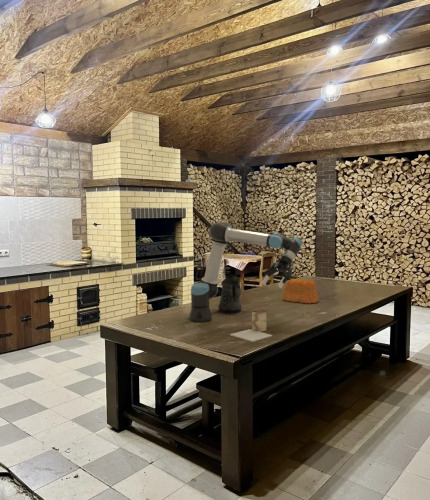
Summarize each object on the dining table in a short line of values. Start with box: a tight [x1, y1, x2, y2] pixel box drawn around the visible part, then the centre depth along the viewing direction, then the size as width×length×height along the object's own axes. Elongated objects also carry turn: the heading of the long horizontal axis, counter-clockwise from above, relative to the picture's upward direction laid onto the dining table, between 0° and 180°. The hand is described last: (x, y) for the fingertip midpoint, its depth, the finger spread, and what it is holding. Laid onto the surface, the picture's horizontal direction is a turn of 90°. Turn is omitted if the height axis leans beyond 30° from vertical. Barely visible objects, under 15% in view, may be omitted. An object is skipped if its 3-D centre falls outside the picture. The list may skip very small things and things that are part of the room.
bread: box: [282, 278, 320, 305], centre depth 344 cm, size 16×26×17 cm, turn 55°
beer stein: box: [218, 275, 242, 314], centre depth 311 cm, size 16×19×25 cm
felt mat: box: [229, 328, 273, 343], centre depth 249 cm, size 18×16×1 cm
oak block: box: [251, 308, 267, 333], centre depth 261 cm, size 6×6×12 cm
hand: (271, 285), depth 266 cm, fingers open, 13 cm apart
